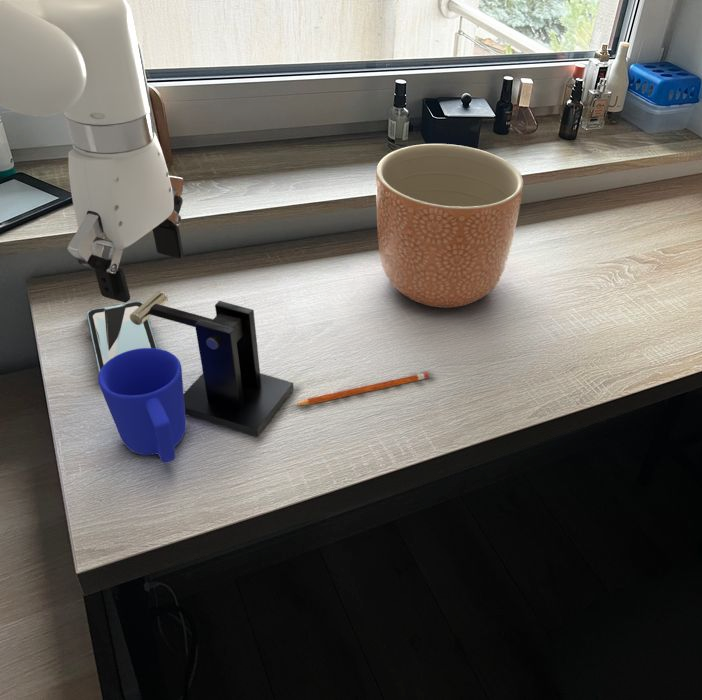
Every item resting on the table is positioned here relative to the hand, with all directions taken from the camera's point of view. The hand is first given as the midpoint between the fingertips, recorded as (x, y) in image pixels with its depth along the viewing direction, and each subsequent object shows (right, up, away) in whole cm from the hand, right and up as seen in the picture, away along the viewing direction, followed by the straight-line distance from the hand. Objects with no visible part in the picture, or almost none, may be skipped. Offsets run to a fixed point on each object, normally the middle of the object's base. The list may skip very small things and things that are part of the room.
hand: (144, 275), depth 81 cm
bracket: (+8, -15, +8) cm, 18 cm away
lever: (+4, -6, +2) cm, 8 cm away
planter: (+32, +2, +32) cm, 45 cm away
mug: (+2, -20, +1) cm, 20 cm away
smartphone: (-9, -8, +14) cm, 18 cm away
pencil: (+23, -14, +12) cm, 29 cm away
